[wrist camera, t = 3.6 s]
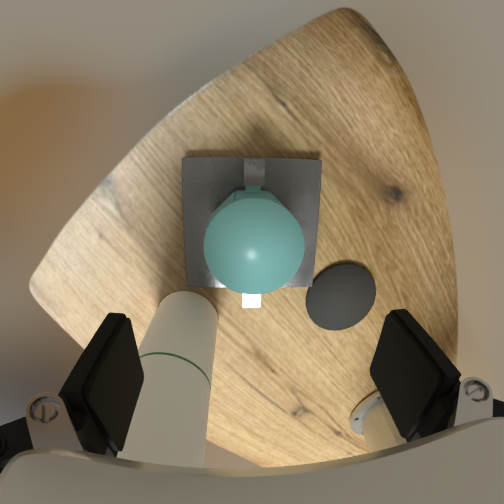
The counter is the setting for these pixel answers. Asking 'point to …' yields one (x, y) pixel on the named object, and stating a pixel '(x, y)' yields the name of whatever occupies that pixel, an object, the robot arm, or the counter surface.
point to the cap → (253, 242)
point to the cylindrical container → (174, 384)
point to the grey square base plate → (237, 178)
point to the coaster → (340, 296)
